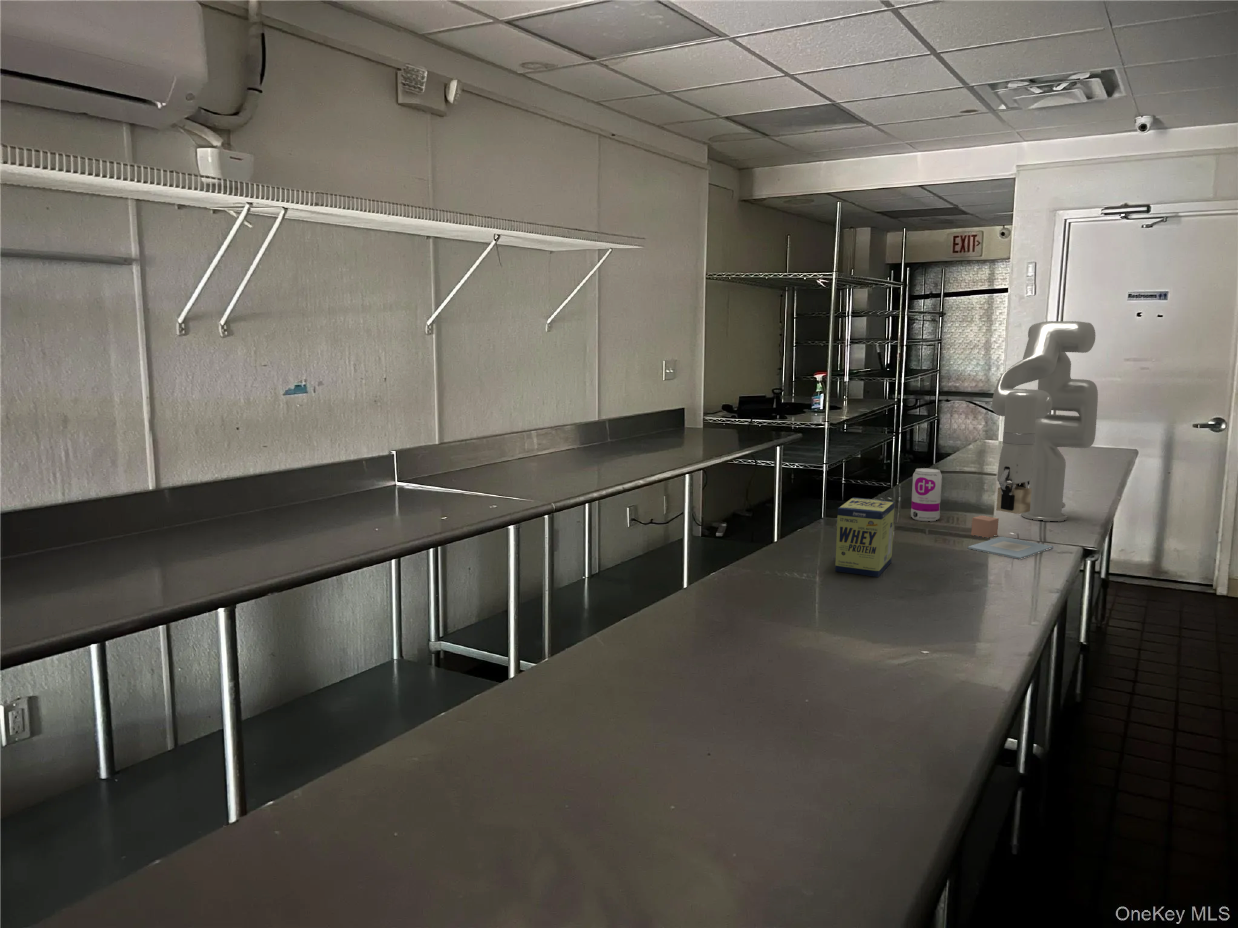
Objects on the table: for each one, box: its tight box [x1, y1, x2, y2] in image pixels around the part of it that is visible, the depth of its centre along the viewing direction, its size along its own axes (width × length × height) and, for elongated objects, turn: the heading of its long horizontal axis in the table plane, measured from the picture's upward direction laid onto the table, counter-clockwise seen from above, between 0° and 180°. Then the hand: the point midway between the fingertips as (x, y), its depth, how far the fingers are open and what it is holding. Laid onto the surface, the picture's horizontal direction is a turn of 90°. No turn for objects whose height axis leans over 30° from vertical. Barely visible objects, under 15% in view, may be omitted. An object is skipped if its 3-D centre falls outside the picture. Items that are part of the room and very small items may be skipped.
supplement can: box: [910, 467, 943, 522], centre depth 267 cm, size 8×8×15 cm
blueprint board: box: [967, 536, 1054, 560], centre depth 232 cm, size 18×14×1 cm
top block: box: [970, 515, 999, 539], centre depth 247 cm, size 5×5×5 cm
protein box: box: [834, 497, 896, 578], centre depth 213 cm, size 10×16×16 cm
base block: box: [995, 485, 1032, 515], centre depth 230 cm, size 6×6×6 cm
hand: (1013, 507), depth 231 cm, fingers closed on base block, 6 cm apart
